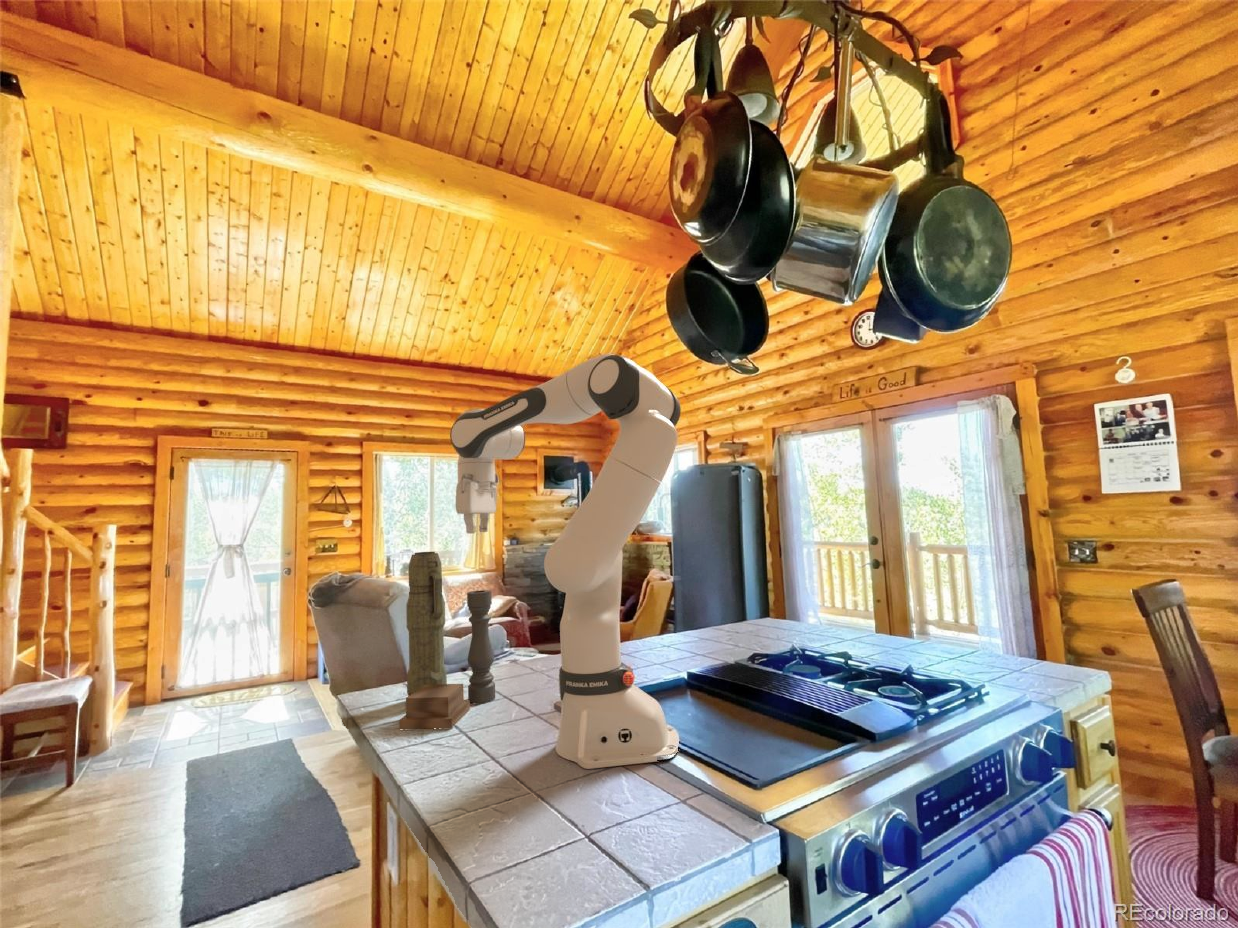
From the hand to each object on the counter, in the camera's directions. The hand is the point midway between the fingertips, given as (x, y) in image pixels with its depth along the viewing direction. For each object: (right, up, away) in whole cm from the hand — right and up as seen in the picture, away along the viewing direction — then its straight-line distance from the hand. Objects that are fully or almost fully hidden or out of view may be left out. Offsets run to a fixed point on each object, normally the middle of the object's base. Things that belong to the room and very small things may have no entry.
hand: (477, 532), depth 133 cm
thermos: (-11, -40, -3) cm, 41 cm away
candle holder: (+2, -39, -4) cm, 39 cm away
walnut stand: (-5, -38, -16) cm, 41 cm away
